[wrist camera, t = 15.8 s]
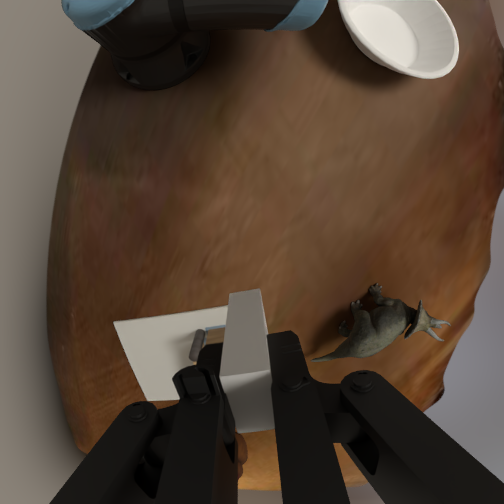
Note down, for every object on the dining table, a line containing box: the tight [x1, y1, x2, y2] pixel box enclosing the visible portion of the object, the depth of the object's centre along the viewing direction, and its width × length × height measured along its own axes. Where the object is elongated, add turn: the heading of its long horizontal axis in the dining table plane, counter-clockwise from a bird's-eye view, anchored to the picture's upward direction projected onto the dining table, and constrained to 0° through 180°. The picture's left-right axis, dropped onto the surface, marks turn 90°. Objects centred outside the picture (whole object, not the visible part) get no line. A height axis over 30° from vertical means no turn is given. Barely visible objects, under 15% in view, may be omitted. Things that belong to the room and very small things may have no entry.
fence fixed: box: [189, 327, 225, 362], centre depth 43 cm, size 2×11×8 cm, turn 101°
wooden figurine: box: [235, 433, 248, 479], centre depth 47 cm, size 7×6×15 cm
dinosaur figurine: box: [311, 283, 451, 362], centre depth 42 cm, size 22×8×11 cm, turn 110°
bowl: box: [338, 0, 459, 79], centre depth 32 cm, size 21×21×8 cm
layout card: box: [113, 305, 228, 401], centre depth 47 cm, size 18×25×3 cm
